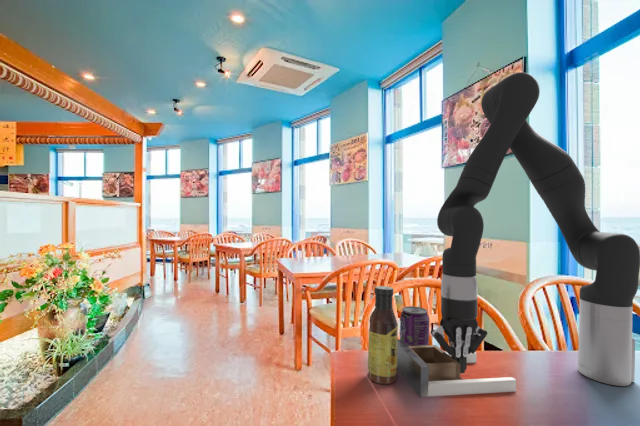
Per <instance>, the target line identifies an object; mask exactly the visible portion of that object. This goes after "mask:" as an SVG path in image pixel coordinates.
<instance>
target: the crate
mask: <svg viewBox="0 0 640 426" xmlns="http://www.w3.org/2000/svg"><path fill="white" fill-rule="evenodd" d="M408 347H409V348H410V349H411V350H412V351H413V352H414V353H415V354H416V355H417V356H418V357H419V358H420V359H421V360H422V361H423V362H424V363H425V364H426V365H427V366H428V367H429V376H428V381H445V380H461V373H460V364H459V363H458V362H457V361H456V360H454V359H453V358H452V357H450V356H449V355H448V354H447V353H445V352H446V351H444V350H443V349H442V348H441V347H439V345H438V346H437V345H436V344H433V345H426V346H408Z"/></svg>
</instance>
